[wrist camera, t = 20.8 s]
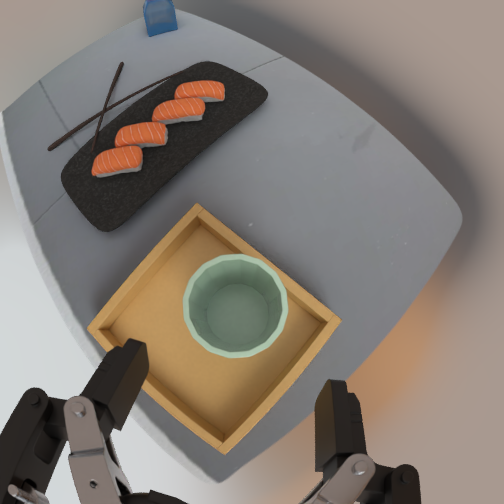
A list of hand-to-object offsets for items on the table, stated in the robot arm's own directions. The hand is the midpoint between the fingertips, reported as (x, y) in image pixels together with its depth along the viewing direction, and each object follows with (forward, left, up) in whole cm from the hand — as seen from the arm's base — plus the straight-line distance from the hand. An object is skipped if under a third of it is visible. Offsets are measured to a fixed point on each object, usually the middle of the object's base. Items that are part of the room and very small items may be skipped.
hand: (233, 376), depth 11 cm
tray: (+3, 0, -16) cm, 16 cm away
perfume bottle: (+52, -35, -16) cm, 65 cm away
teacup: (+2, -3, -15) cm, 16 cm away
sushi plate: (+32, -14, -16) cm, 39 cm away
